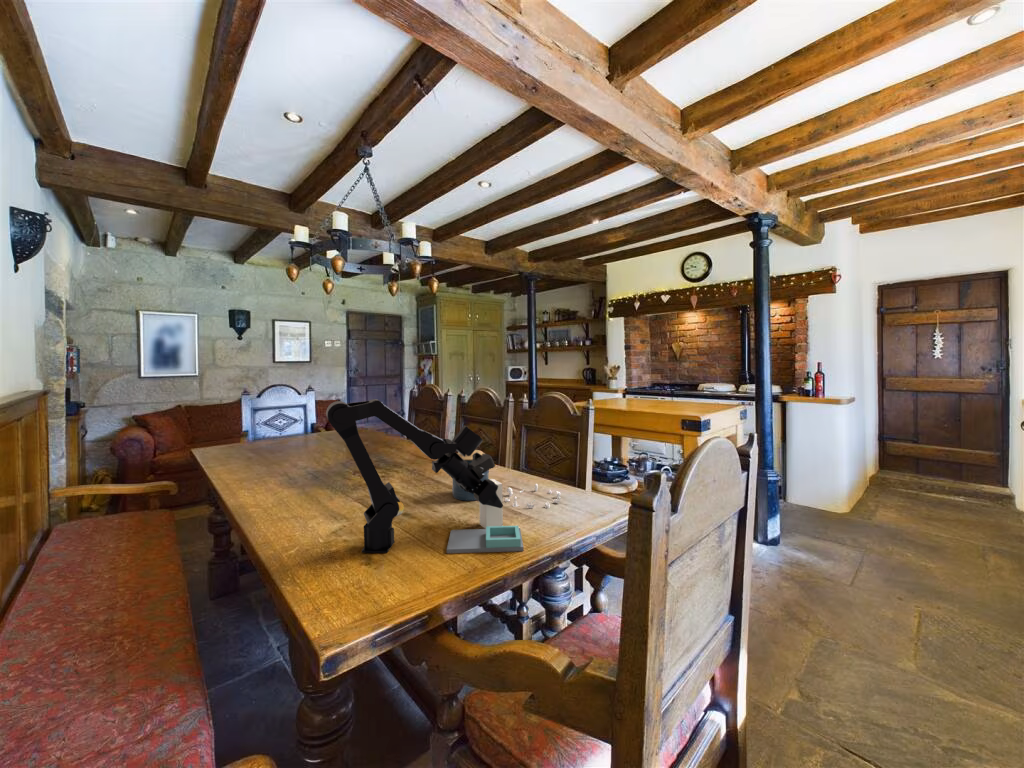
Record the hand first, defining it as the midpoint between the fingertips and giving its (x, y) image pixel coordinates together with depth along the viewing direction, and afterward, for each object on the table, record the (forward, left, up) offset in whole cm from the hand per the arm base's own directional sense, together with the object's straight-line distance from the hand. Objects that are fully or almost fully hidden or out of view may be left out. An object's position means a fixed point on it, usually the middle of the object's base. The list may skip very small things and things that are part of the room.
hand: (495, 501), depth 123 cm
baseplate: (-2, -12, -7) cm, 14 cm away
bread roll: (-34, +9, -7) cm, 35 cm away
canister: (-11, +26, -7) cm, 29 cm away
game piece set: (+11, +22, -7) cm, 26 cm away
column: (-1, -1, -7) cm, 7 cm away
